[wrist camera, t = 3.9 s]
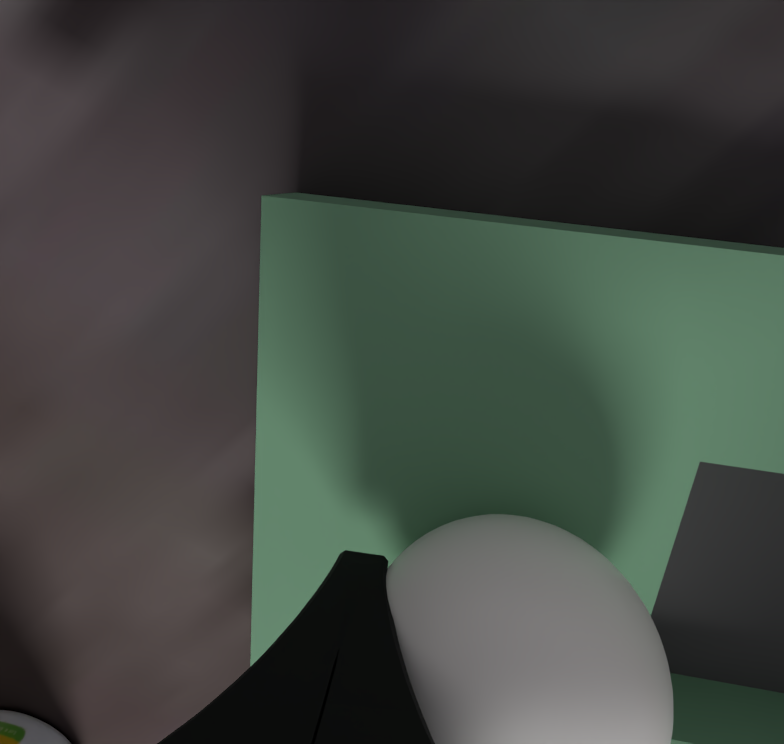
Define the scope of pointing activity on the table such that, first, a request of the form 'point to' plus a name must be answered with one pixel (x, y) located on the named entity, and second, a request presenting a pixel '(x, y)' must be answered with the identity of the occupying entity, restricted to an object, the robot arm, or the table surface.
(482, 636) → the white ball
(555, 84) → the table surface
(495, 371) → the putting board
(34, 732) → the supplement bottle
